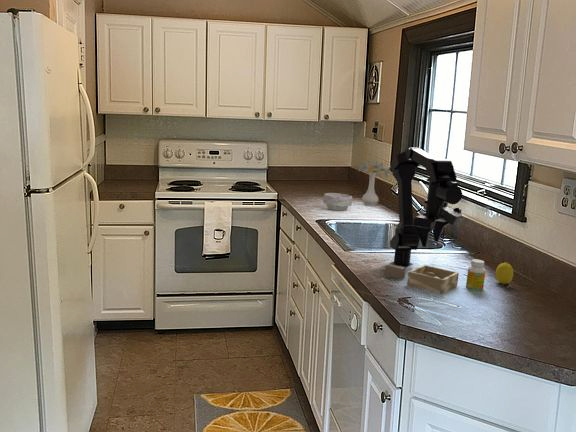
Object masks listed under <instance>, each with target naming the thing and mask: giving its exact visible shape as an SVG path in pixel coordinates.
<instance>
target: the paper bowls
mask: <svg viewBox="0 0 576 432" xmlns="http://www.w3.org/2000/svg"><path fill="white" fill-rule="evenodd" d="M323 204H324V205H325V206H326V208H327V209H328V210H330V211H334V212H335V211H336V212H345V211H347V209H348V208H349V207H351V206H352V204H353V196H352V195H349V194H346V193H345V194H344V193H338V192H326V193H324V194H323Z"/></svg>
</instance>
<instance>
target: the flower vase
mask: <svg viewBox="0 0 576 432" xmlns="http://www.w3.org/2000/svg"><path fill="white" fill-rule="evenodd" d="M383 166H384V162H380V163H379V162H378V161H374V162H372V163H371V161H370V160H368V161H366V160H363V161H362V165H360V166H358V171H357V172H360V171H362V170H363V171H364V173H365V174H369V175H368V176H369V183H368V188H367V190H366V192H365V194H363V195H362V198H361V201H362V203H364V204H363V205H365V206H367V207H375V206H376V204H378V202H379V197H378V195H377V194H376V190H375V182H376V181H375V179H376V176H377V173H378V174H380V175H381V174H382V175H384V176H385V177H386V179H388V178H389V174H391V172H392V171H391V170H392V169H391V165H390V166H388V168H385V167H383ZM390 169H391V170H390Z"/></svg>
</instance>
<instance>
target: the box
mask: <svg viewBox="0 0 576 432" xmlns="http://www.w3.org/2000/svg"><path fill="white" fill-rule="evenodd" d="M428 272H433V273H434V274H435V276H436V277H439V278H436V277H432V276H428V275H426V273H428ZM459 275H460V272H457V271H454V270H449V269H444V268H440V267H437V266H436V267H435V266H431V265H428V264H423V265H421V266H418V267H416V268H413V269H411V270H408V272H407V281H406V283H407V284H406V285H407V286H409V287H414V288H419V289H422V290H425V291H429V292H434V293H436V294H440V295H443V294H445V293H447V292H448V291H451V290H452V289H454V288H456V287H457V286H458V283H459Z"/></svg>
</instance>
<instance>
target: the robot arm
mask: <svg viewBox="0 0 576 432" xmlns="http://www.w3.org/2000/svg"><path fill="white" fill-rule="evenodd" d="M390 164H391V165H390V166H391V167H390V169H391V170H392V171H391V172H392V177H394V179H395V180H396V182H397V193H398V194H397V196H398V198H397V199H398V215H399V216H398V217H399V218H398V220H399V221H398V224H397V226H396V227H395V231H394V235H393V236H392V238H391V239H390V240H389V246H390V247H389V248H390V249H392V250H394V256H393V261H391V262H389V264H392V265H396V266H401V267H405V268H408V267H410V266H412V265H414V263H412V262H411V254H412V250H413V251H414V250H415V251H417V250H418V247H419V244H420V243H421V245H422V247H423V248H426V247H427V244H428V241H429V237H430V234H431V232H432V235H433V240H434V242H435V243H439V241H440V238H441V236H442V234H443V231H444V229H445V227H446V226H448V225H452V226H454V225H457V224H458V223H459V221H460V219H462V218H463V214H462V208H460V207H459V206H457V207H455V208H452V207H449V206H448V204H449V205H457V204H458V203H460V201H462V198H463V192H462V189H461V188H460V187H459V183H458V180H457V179H458V178H457V174H456V172H455V168H454V164H453V162H452V161H451V160H450V159H447V158H441V157H440V158H439V157H436V156H434V155H432V154H430V153H428V152H427V151H425V150H423V149H422V148H420V147H408V148H406V149H405V150H404V151H402V152H401V153H398V154H397V155H396V156H395V157H394V158H393V159H392V161H391V163H390ZM419 166H421V167H423V168H424V169H425V172H426V174H427V175H428V176H429V177H428V178H427V179H426V182H427V183H428V188H427V189H428V191H427V197H426V199H424V201H423V203H424V204H426V205H425V211H424V212H422V215H421V214H420V215H416V216H415V217H414V210H413V209H414V207H413V189H412V187H413V185H412V181H413V180H414V177H415V175H416V171H417V169H418V167H419Z"/></svg>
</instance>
